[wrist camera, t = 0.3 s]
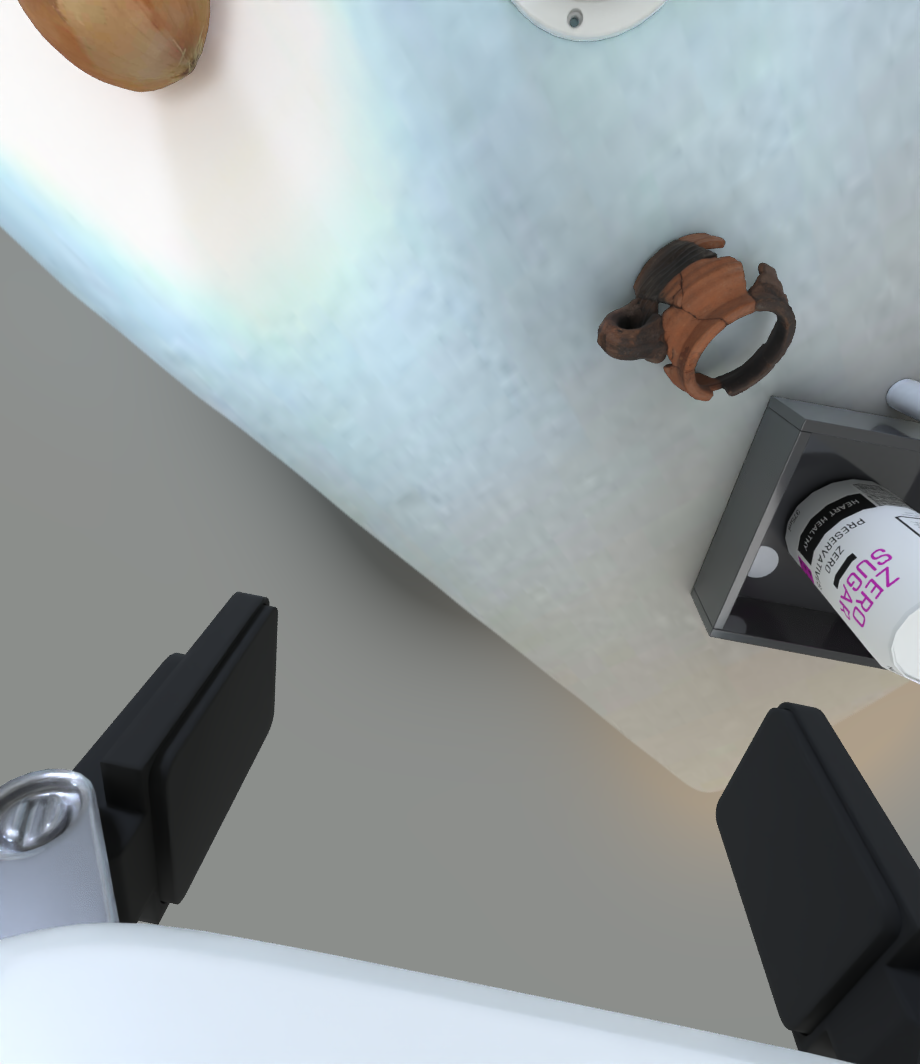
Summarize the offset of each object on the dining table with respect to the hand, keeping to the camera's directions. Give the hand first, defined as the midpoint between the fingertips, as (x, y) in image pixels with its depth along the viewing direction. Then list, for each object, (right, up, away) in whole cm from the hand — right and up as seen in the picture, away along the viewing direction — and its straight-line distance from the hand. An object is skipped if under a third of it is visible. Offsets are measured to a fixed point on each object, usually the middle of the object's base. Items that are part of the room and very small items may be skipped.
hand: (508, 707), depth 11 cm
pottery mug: (+14, +19, +30) cm, 38 cm away
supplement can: (+29, +4, +36) cm, 47 cm away
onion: (-19, +36, +25) cm, 48 cm away
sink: (+29, +5, +35) cm, 46 cm away
